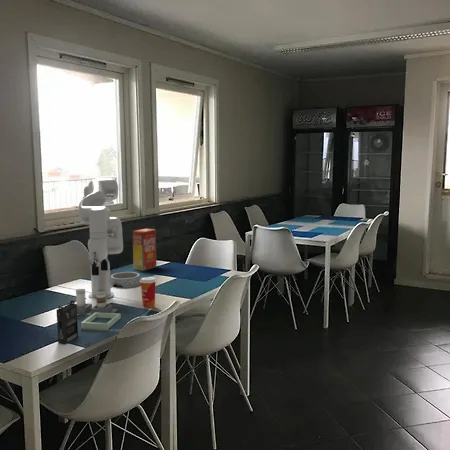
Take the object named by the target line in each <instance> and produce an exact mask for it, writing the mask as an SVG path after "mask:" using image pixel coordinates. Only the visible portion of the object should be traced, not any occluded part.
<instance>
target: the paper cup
mask: <svg viewBox="0 0 450 450" xmlns="http://www.w3.org/2000/svg"><path fill="white" fill-rule="evenodd" d="M140 278H141V281H140V282H141V285H140V291H141V301H142V306H143V307H146V308H147V307H149V309H153V308H155V305H156V282H157V280H156V277H154V276H145V277H140Z"/></svg>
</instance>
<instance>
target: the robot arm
mask: <svg viewBox="0 0 450 450" xmlns="http://www.w3.org/2000/svg"><path fill="white" fill-rule="evenodd" d="M118 195H119V184H118V182H117V181H116V179H114V178H95V179H92V180H90V181H89V182H88V185H86V186H85V187H84V189H83V198H82V199H81V200H80V202H79V204H78V211H77V212H78V214H77V215H78V219H79V221H80V223H83V224H89V239H88V240H87V241H88V242H87V248H88V253H89V262H90V279H91V280H90V281H91V282H90V283H91V293H89V295H88V298H89V299H96V300H97V294H96V291H97V290H105V291H106V300H107V299H110V298H113V297H114V295H115V293H114V292H113V291H112V290H111V289H112V288H113V287H112V285H110V279H111V270H110V269H111V267H110V265H111V264H110V261H109V255H118V254H121V253H122V252H123V250H124V238H123V237H124V236H123V226H122V221H121V218H119V217H117V216H111V210H110V209H109V208H108V207H107V206H104V204H106V202H107V201H115V200H117V199H118Z"/></svg>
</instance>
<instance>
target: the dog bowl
mask: <svg viewBox="0 0 450 450" xmlns="http://www.w3.org/2000/svg"><path fill="white" fill-rule="evenodd" d="M141 278H142V277H141V275H140V273H138V272H136V271H135V272H134V271H122V272H117V273H114V274H110V285H112V288H113V287H114V285H115V286H118V287H122V288H123V289H127V288H128V287H129V288H134V287H138V286H141V282H140V281H141Z"/></svg>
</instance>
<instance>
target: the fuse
mask: <svg viewBox="0 0 450 450" xmlns="http://www.w3.org/2000/svg"><path fill="white" fill-rule="evenodd" d="M75 296H76V304H77V307H83V308H84V307H86V303H87V302H86V301H87V300H86V289H85V288H78V289H75Z"/></svg>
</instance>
